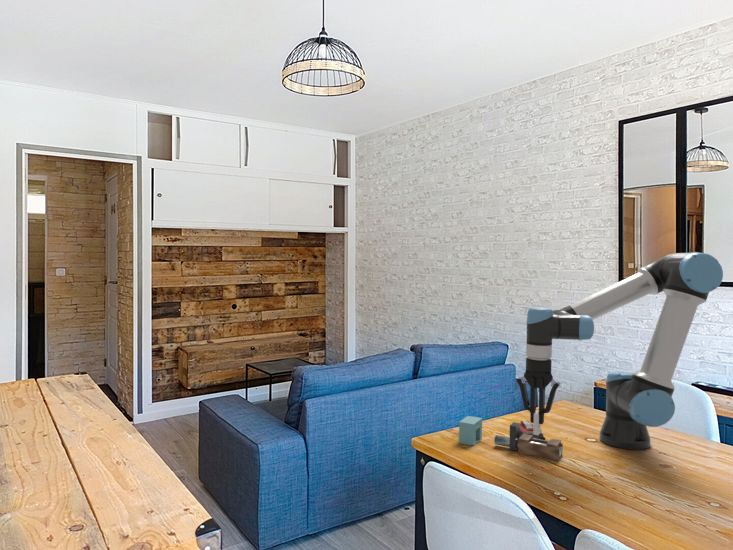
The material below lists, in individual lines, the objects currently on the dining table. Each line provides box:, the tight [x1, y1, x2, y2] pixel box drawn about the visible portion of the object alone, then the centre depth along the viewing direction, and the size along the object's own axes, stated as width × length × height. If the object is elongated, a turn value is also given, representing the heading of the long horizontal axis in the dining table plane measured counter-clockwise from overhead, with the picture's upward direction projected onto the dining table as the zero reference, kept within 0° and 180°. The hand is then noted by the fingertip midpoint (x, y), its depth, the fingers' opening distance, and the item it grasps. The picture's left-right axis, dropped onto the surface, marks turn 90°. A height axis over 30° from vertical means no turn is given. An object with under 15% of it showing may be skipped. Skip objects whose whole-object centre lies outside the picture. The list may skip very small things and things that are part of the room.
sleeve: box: [517, 434, 564, 462], centre depth 164 cm, size 12×6×5 cm, turn 59°
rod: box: [493, 422, 563, 458], centre depth 166 cm, size 20×4×8 cm, turn 59°
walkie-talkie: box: [519, 420, 546, 440], centre depth 184 cm, size 9×4×20 cm
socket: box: [458, 415, 483, 446], centre depth 175 cm, size 5×8×7 cm, turn 149°
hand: (536, 433), depth 164 cm, fingers closed
